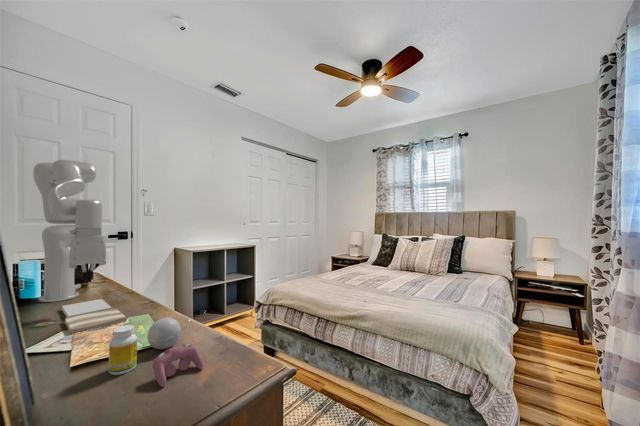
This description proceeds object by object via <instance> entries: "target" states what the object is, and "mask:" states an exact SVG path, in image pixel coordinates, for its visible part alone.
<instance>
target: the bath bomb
mask: <svg viewBox="0 0 640 426" xmlns="http://www.w3.org/2000/svg"><path fill="white" fill-rule="evenodd" d="M181 334H182V328H181V325H180V322H179V321H178V320H176V319H174V318H172V317H162V318H160V319H158V320H156V321H154V322H153V324H152V325H150V327H149V329H148V332H147V341H148V344H149V345H150V347H152V348H153V349H156V350H165V349H166V350H168V349H170V348H172V347H173V346H174V345H175V344H176V343H177V342H178V340H179V339H180V337H181Z"/></svg>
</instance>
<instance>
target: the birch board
mask: <svg viewBox="0 0 640 426" xmlns="http://www.w3.org/2000/svg"><path fill="white" fill-rule="evenodd" d="M127 319H128V318H127V316H126V315H124V314H123V313H122V312H121V311H120V310H118V308H117V307H115V308H112V309H109V310H104V311H99V312H94V313H89V314H84V315H79V316H75V317H70V318H67V317H65V318H64V324H65V325H66V328H67V329H68V331H69V333H70V335H71V336H73V335H75V334H74V333H77V332H81V333H83V332H82V331H86V332H88V331H87V330H90V331H92V330H91V329H94V330H96V329H95V328H98V329H100V328H99V327H102V328H105V327H104V326H106V327H110V326H114V325H118V324H117V323H119V324H122V323H121V322H123V323H126V322H125V321H127ZM127 322H128V321H127ZM113 324H114V325H113ZM72 334H73V335H72ZM77 334H78V333H77Z"/></svg>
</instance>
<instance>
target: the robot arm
mask: <svg viewBox="0 0 640 426" xmlns="http://www.w3.org/2000/svg"><path fill="white" fill-rule="evenodd" d="M32 172H33V173H32V177H33V179H34V183H35V186H36V188H37V189H38V191H39V192H40V194H41V198H42V208H43V214H44V219H45V221H46V222H47V223H49V224H54V225H51V226H48V227H45V228H44V229H43V230H42V233H41V240H42V244H43V245H42V246H43V250H44V251H43V252H44V266H43V267H44V271H43V272H44V275H43V276H44V279H43V295H42V296H39V298H38V301H39V302H40V303H54V302H55V303H56V302H61V301H66V300H71V299H74V298H77V297H78V296H79V295H80V294H79V293H80V292H79V291H77V290H78V289H80V288H81V287H82V285H81V283H77V284H75V269H78V271H80V272H82V273H81V280H82V281H83V282H84V283H85V284H87V283H92V280H93V279H94V271H95V270H96V269H97V268H99V267H100V266H103V265H106V264H107V261H106V260H107V245H106V238H105V236H104V235H102V228H103V227H102V225H103V224H102V220H103V219H102V217H103V214H102V213H103V203H102V201H100V200H97V199H80V198H76V199H75V198H69V197H72V196H75V195H79V194H81V193H82V192H83V191H84V190H85V188H86V184H88V183H92V182H93V181H94V180H96V176H97V170H96V168H95V166H94V165H93V164H91V163H89V162H83V161H76V160H69V159H59V160H55V161H54V162H39V163H37V164H35V165H34V167H33V171H32ZM68 248H70V249H68ZM86 265H89V268H88V269H87V266H86Z"/></svg>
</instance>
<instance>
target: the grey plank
mask: <svg viewBox="0 0 640 426" xmlns="http://www.w3.org/2000/svg"><path fill="white" fill-rule="evenodd" d="M61 307H62V312H63V314H64V315H65V318H70V317H75V316H79V315H84V314H89V313H94V312H99V311H104V310H109V309H113V307H112V306H111V305H109V303H107V302H106V300H104V299H103V298H99V299H95V300H88V301H82V302H77V303H71V304H66V305H61Z"/></svg>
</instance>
